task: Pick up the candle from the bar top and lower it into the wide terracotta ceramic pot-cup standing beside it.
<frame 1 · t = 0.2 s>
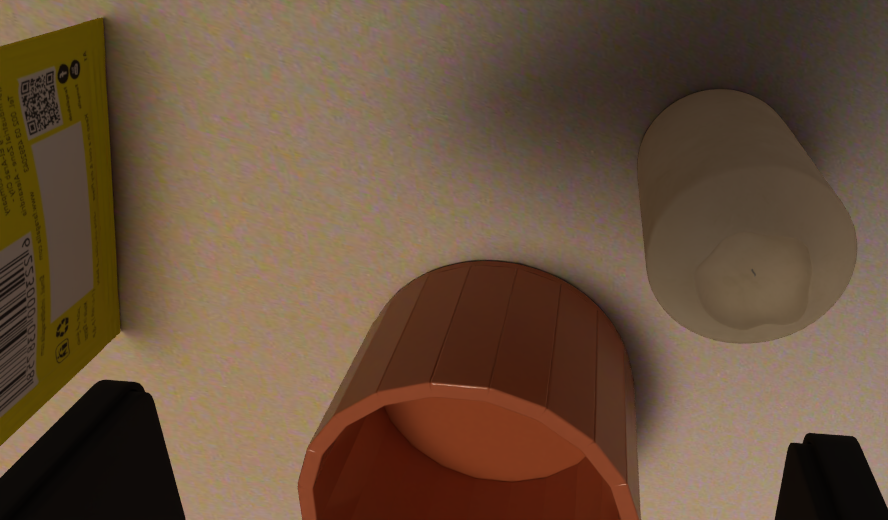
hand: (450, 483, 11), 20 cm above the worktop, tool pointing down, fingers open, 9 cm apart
pot cup: (495, 379, 35), on the worktop
candle: (711, 158, 29), on the worktop
food package: (116, 188, 35), on the worktop
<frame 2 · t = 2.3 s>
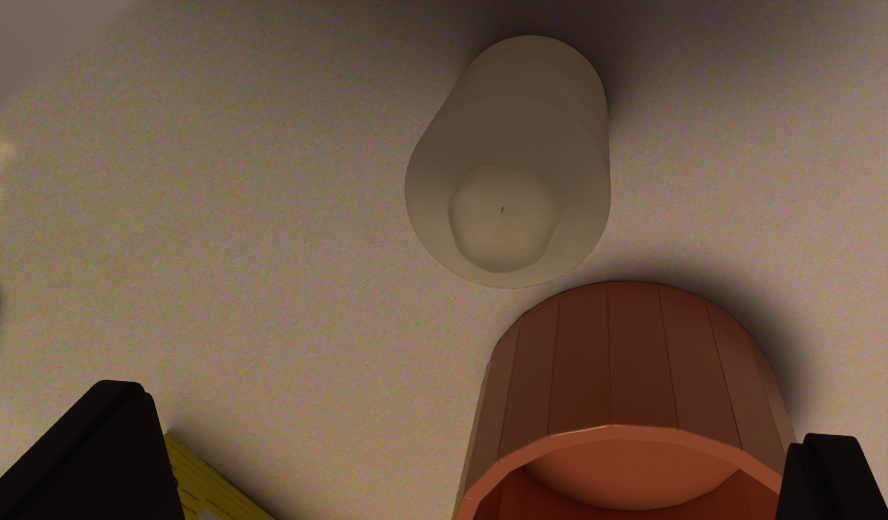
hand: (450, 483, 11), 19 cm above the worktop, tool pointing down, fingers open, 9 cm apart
pot cup: (624, 405, 33), on the worktop
candle: (530, 108, 28), on the worktop
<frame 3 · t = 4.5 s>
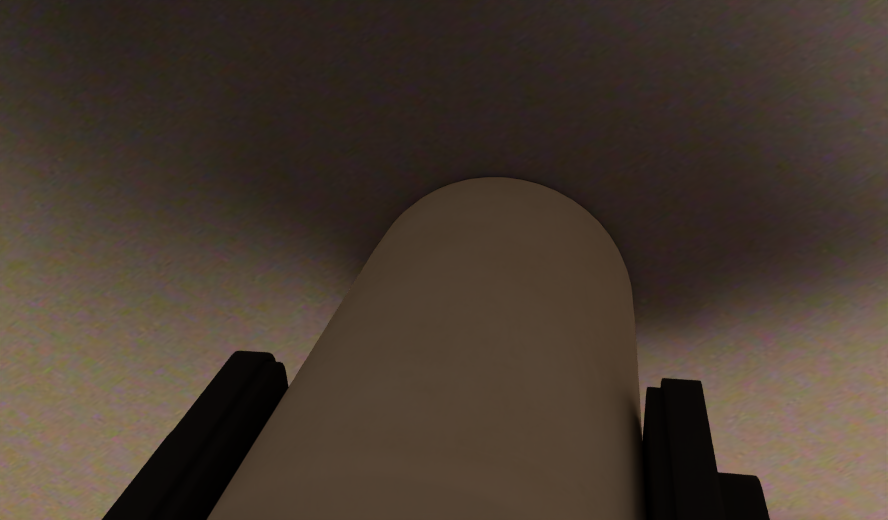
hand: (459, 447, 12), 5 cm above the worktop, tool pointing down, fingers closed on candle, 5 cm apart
candle: (500, 291, 16), on the worktop, touching gripper
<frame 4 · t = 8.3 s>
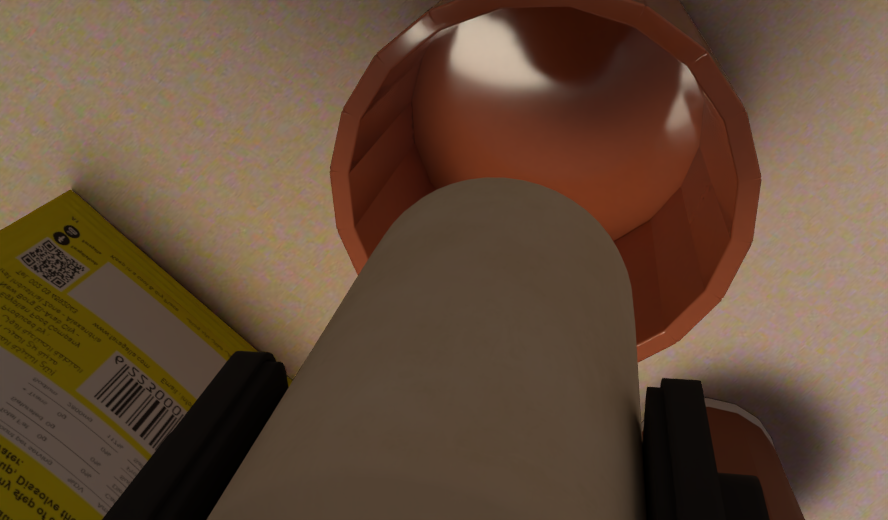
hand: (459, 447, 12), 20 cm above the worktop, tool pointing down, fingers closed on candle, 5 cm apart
pot cup: (553, 118, 30), on the worktop
coffee cup: (699, 451, 36), on the worktop
candle: (500, 291, 16), point 15 cm above the worktop, touching gripper
food package: (200, 296, 37), on the worktop
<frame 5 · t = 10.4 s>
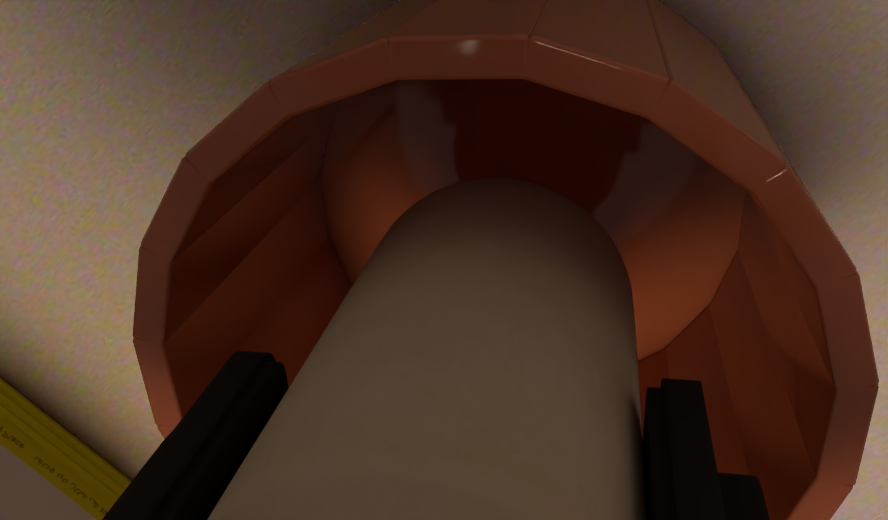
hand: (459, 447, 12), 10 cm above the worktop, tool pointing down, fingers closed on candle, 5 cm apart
pot cup: (524, 204, 21), on the worktop
candle: (500, 291, 16), point 5 cm above the worktop, touching gripper
food package: (63, 418, 28), on the worktop
when the fingers open (6 cm above the worktop, at t = 12.7 s): candle stays where it is, resting on pot cup.
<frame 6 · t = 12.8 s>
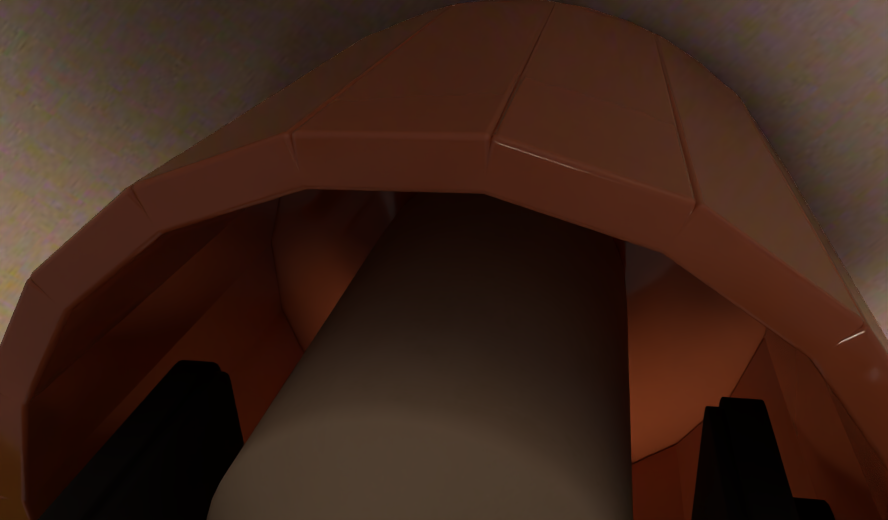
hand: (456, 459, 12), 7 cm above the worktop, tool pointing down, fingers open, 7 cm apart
pot cup: (510, 276, 18), on the worktop
candle: (500, 277, 17), resting on pot cup
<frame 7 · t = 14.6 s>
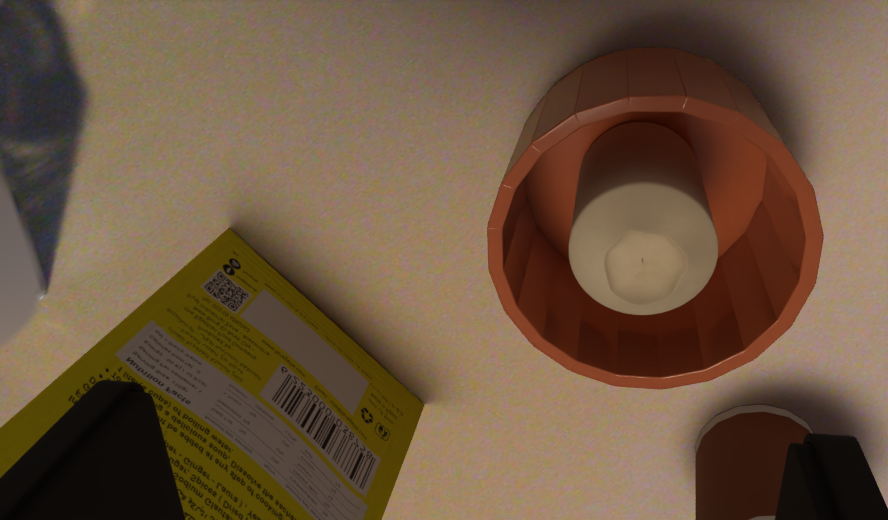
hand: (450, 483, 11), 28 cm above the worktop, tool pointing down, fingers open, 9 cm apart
pot cup: (641, 175, 37), on the worktop
coffee cup: (755, 449, 43), on the worktop
candle: (637, 175, 37), resting on pot cup
food package: (331, 316, 45), on the worktop
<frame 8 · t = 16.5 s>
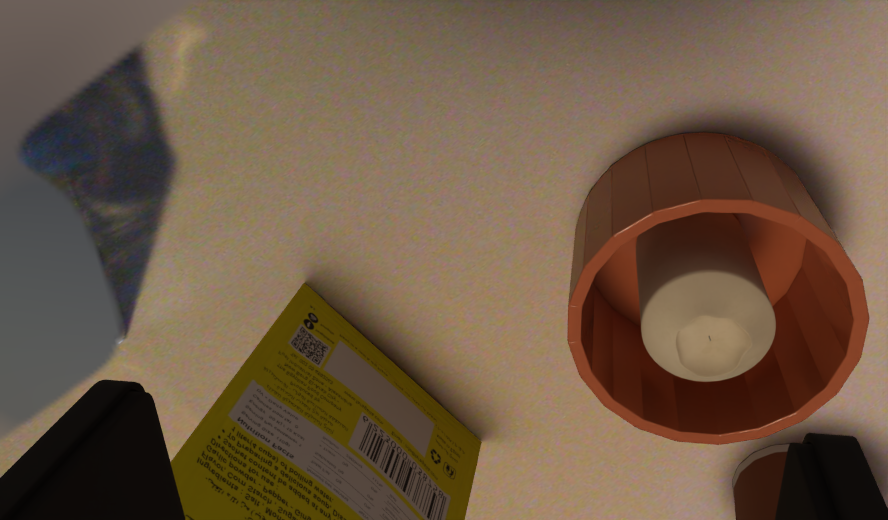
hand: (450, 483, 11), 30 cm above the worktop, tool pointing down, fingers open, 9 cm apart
pot cup: (691, 243, 41), on the worktop
coffee cup: (787, 483, 47), on the worktop
candle: (688, 242, 41), resting on pot cup
food package: (396, 362, 48), on the worktop
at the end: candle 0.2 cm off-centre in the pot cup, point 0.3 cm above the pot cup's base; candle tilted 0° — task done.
